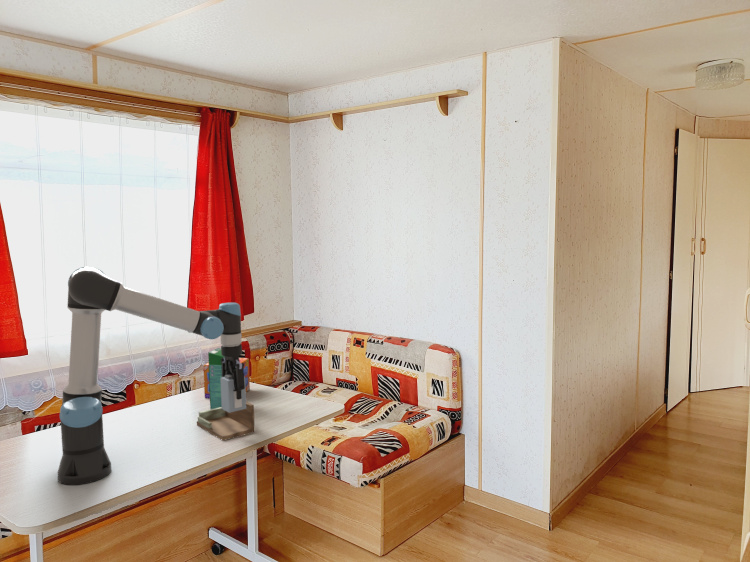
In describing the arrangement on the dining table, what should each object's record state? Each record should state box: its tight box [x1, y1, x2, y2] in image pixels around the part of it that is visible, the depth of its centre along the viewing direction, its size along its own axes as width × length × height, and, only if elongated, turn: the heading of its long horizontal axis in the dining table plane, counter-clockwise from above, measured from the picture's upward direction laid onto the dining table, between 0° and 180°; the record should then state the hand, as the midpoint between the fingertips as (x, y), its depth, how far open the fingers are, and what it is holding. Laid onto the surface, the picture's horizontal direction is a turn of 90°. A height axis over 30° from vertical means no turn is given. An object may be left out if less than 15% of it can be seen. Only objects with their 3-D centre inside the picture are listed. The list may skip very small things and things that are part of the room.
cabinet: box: [220, 374, 247, 413], centre depth 215 cm, size 7×6×13 cm
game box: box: [203, 357, 251, 399], centre depth 266 cm, size 16×16×16 cm
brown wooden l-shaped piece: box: [196, 401, 256, 441], centre depth 221 cm, size 13×22×10 cm, turn 41°
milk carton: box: [207, 347, 225, 410], centre depth 246 cm, size 9×9×25 cm
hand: (233, 405), depth 216 cm, fingers closed on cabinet, 6 cm apart
